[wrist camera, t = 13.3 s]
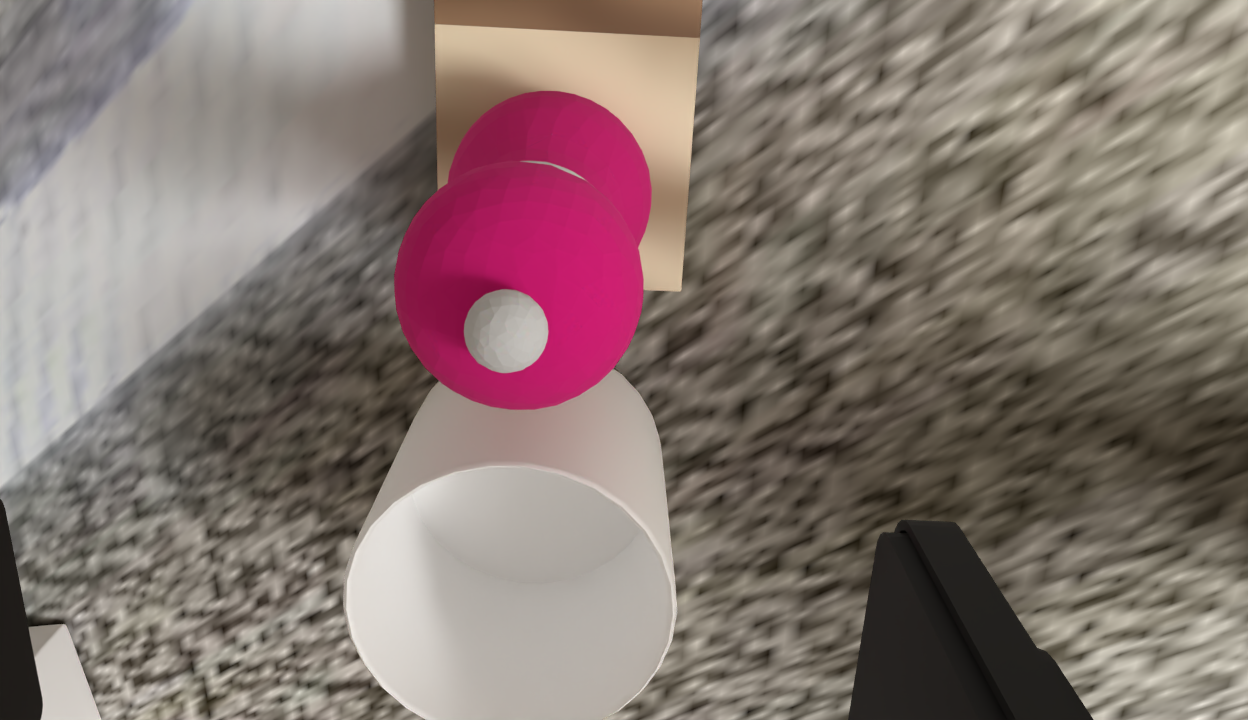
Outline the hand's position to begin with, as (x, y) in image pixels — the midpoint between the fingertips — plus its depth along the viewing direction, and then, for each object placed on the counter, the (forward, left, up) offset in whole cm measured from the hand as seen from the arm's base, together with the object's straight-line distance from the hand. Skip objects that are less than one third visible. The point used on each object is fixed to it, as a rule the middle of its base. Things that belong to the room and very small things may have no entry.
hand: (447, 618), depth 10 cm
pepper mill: (0, +1, -30) cm, 30 cm away
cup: (-14, +1, -32) cm, 35 cm away
